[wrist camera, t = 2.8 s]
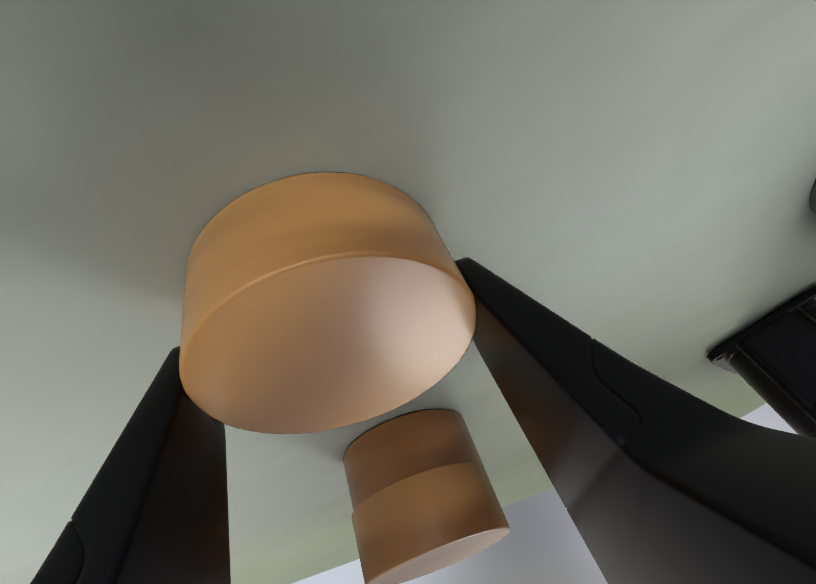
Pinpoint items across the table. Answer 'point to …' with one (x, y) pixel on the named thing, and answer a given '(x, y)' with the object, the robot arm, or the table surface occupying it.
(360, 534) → the chip pile
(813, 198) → the figurine
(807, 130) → the table surface
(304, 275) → the oak chip
